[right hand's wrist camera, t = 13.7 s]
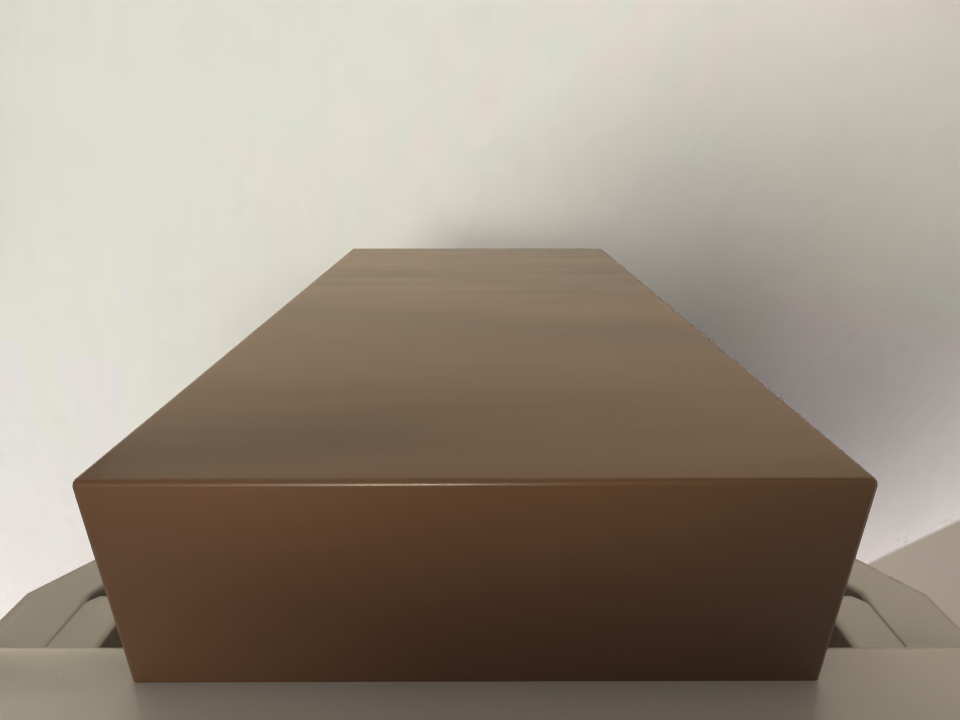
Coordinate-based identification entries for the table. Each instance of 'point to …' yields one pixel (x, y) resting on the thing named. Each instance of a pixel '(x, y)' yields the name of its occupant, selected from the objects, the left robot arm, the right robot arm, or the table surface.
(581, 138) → the table surface
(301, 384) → the box
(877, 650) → the right robot arm
